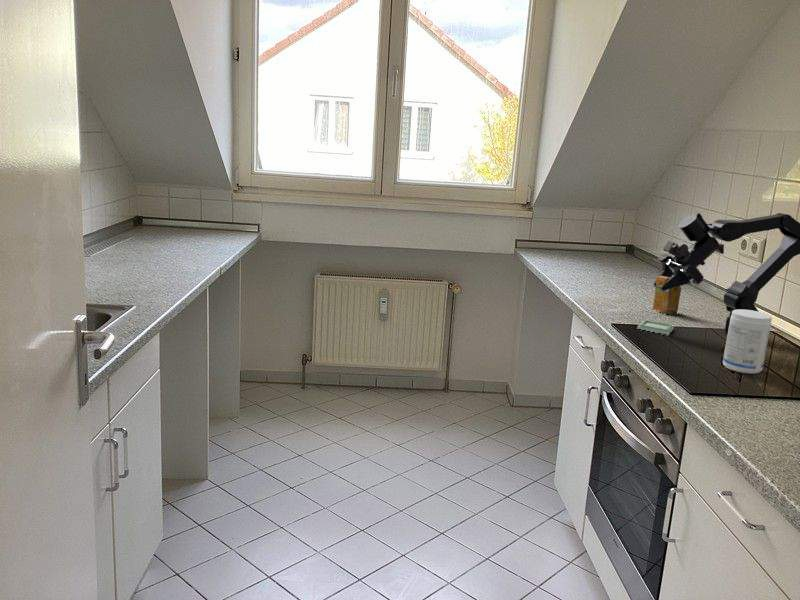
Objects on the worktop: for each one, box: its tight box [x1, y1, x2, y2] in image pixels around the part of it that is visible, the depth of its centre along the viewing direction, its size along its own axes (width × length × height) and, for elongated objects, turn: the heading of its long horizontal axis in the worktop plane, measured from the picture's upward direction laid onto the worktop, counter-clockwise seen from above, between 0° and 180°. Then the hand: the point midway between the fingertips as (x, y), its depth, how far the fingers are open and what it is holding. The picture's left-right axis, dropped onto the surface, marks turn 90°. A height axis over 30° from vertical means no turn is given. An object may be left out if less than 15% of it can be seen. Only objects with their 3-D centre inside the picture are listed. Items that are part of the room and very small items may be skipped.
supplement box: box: [652, 275, 670, 311], centre depth 224 cm, size 3×3×10 cm
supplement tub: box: [722, 309, 773, 375], centre depth 192 cm, size 10×10×15 cm
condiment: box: [658, 285, 687, 317], centre depth 251 cm, size 7×8×12 cm
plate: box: [636, 319, 675, 336], centre depth 227 cm, size 9×9×2 cm
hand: (658, 287), depth 223 cm, fingers closed on supplement box, 4 cm apart
